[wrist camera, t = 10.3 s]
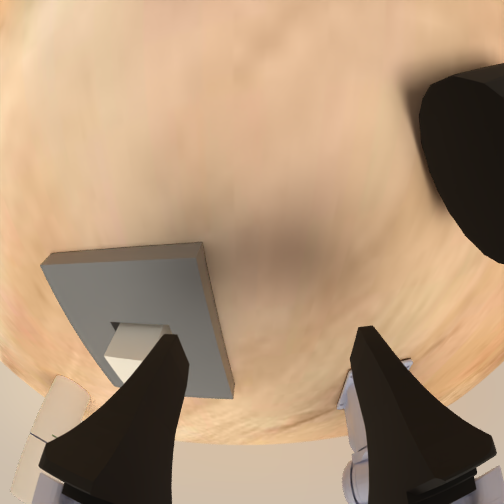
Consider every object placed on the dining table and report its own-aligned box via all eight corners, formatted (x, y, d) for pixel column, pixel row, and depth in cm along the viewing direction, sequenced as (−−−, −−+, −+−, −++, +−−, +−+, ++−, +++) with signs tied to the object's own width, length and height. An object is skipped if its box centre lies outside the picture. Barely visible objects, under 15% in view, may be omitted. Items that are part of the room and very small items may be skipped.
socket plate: (234, 384, 28) (233, 399, 26) (119, 374, 29) (114, 386, 27) (201, 242, 19) (195, 257, 17) (51, 253, 20) (40, 265, 18)
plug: (186, 357, 26) (175, 402, 21) (148, 354, 26) (134, 396, 21) (168, 312, 23) (150, 361, 18) (126, 311, 23) (103, 355, 18)
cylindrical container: (54, 369, 32) (4, 490, 10) (90, 390, 33) (49, 517, 12) (57, 384, 35) (16, 491, 14) (90, 403, 37) (54, 513, 15)
